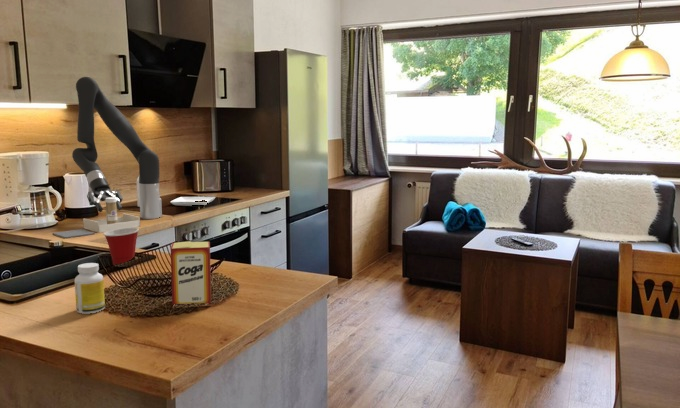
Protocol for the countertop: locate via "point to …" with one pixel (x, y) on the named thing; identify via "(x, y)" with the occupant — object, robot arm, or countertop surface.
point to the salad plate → (191, 201)
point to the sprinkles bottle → (111, 210)
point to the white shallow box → (122, 223)
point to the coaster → (73, 233)
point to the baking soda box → (190, 272)
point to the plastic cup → (122, 244)
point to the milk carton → (138, 193)
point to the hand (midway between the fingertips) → (110, 210)
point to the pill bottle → (89, 289)
